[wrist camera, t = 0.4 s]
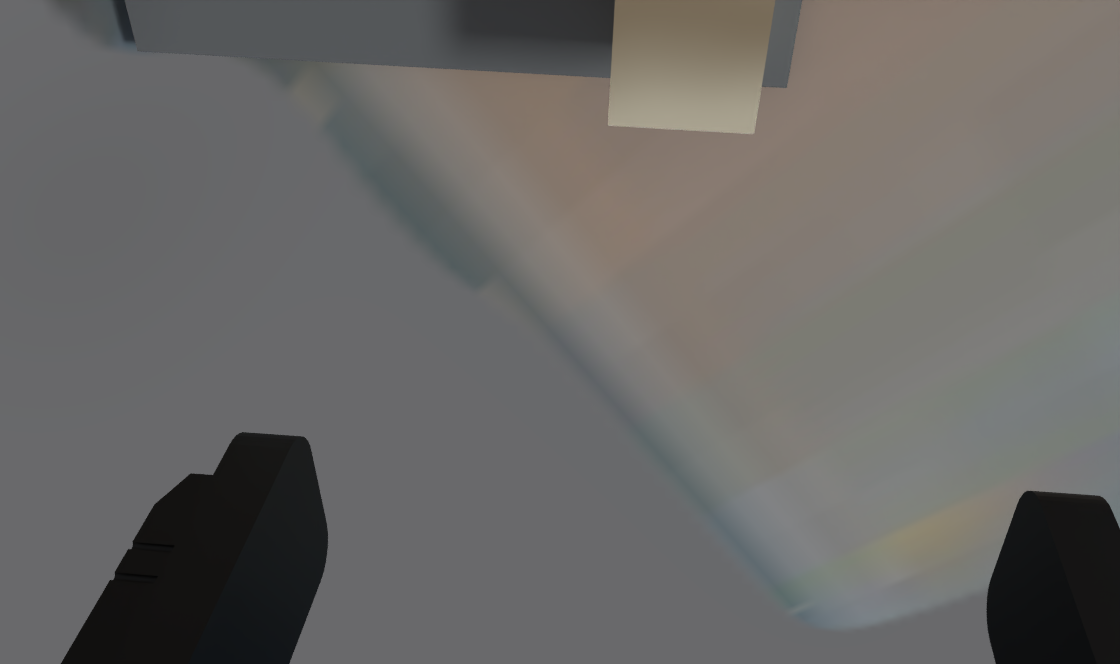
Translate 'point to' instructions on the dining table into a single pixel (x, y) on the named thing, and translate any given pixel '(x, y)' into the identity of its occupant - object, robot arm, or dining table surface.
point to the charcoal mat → (415, 33)
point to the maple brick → (689, 64)
